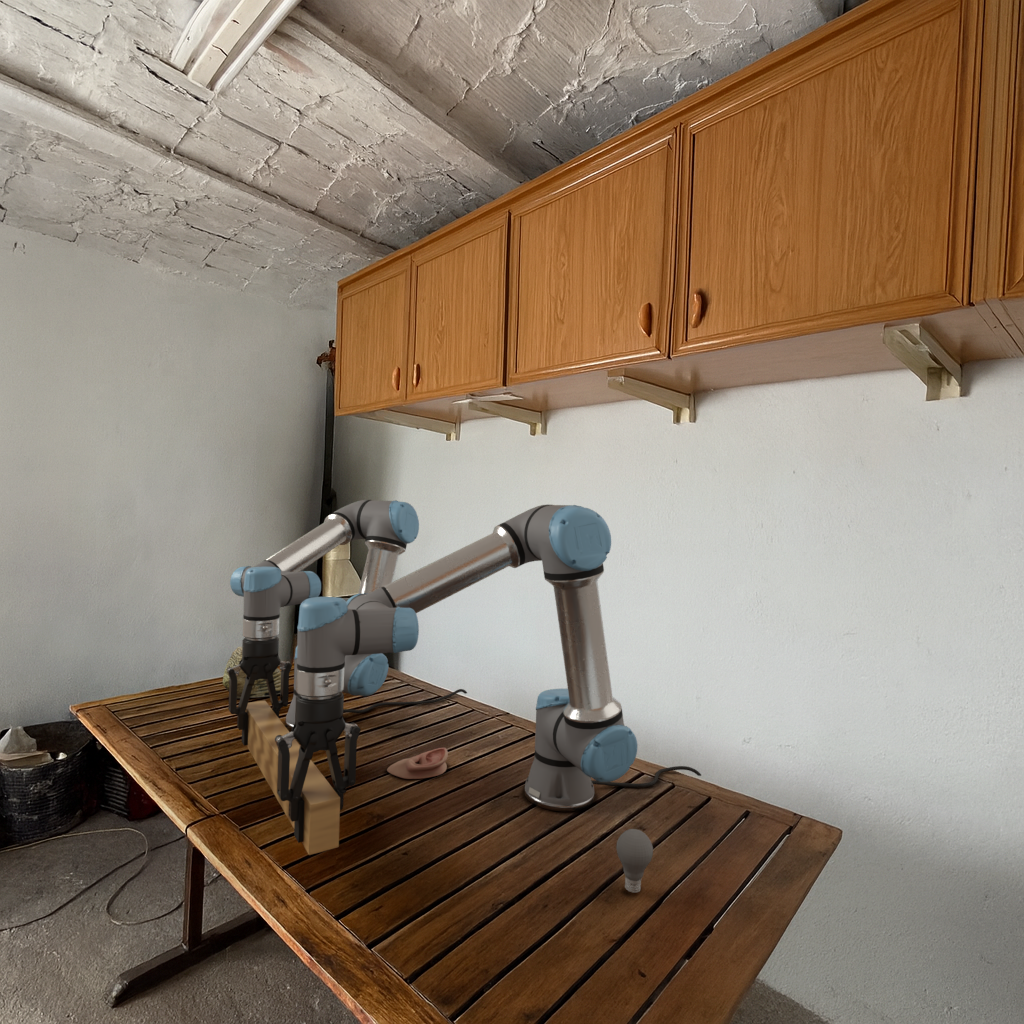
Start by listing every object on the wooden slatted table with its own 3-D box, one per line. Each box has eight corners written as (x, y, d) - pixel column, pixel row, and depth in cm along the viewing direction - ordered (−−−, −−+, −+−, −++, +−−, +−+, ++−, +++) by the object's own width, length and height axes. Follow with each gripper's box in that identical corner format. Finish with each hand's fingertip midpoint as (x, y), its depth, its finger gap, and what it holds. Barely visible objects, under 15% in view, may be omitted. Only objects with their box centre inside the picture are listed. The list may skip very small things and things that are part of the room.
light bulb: (610, 879, 108) (613, 822, 108) (644, 879, 109) (647, 822, 109) (619, 902, 102) (622, 840, 102) (655, 901, 103) (658, 840, 103)
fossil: (218, 695, 195) (220, 647, 195) (278, 685, 208) (279, 640, 207) (228, 703, 189) (230, 653, 188) (289, 692, 201) (290, 645, 201)
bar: (242, 738, 144) (243, 703, 143) (264, 734, 146) (265, 700, 146) (308, 855, 99) (310, 804, 99) (338, 847, 101) (340, 797, 101)
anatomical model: (382, 758, 144) (400, 740, 156) (381, 775, 145) (400, 756, 156) (437, 765, 142) (452, 746, 153) (436, 783, 142) (451, 763, 153)
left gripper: (220, 644, 132) (216, 754, 133) (306, 637, 142) (303, 739, 143) (214, 637, 139) (211, 742, 139) (297, 630, 148) (294, 728, 149)
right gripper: (268, 708, 95) (263, 860, 96) (380, 691, 105) (375, 830, 106) (257, 694, 102) (253, 837, 102) (364, 680, 111) (360, 811, 112)
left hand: (257, 740), depth 141 cm, fingers closed on bar, 5 cm apart
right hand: (315, 833), depth 104 cm, fingers closed on bar, 5 cm apart
